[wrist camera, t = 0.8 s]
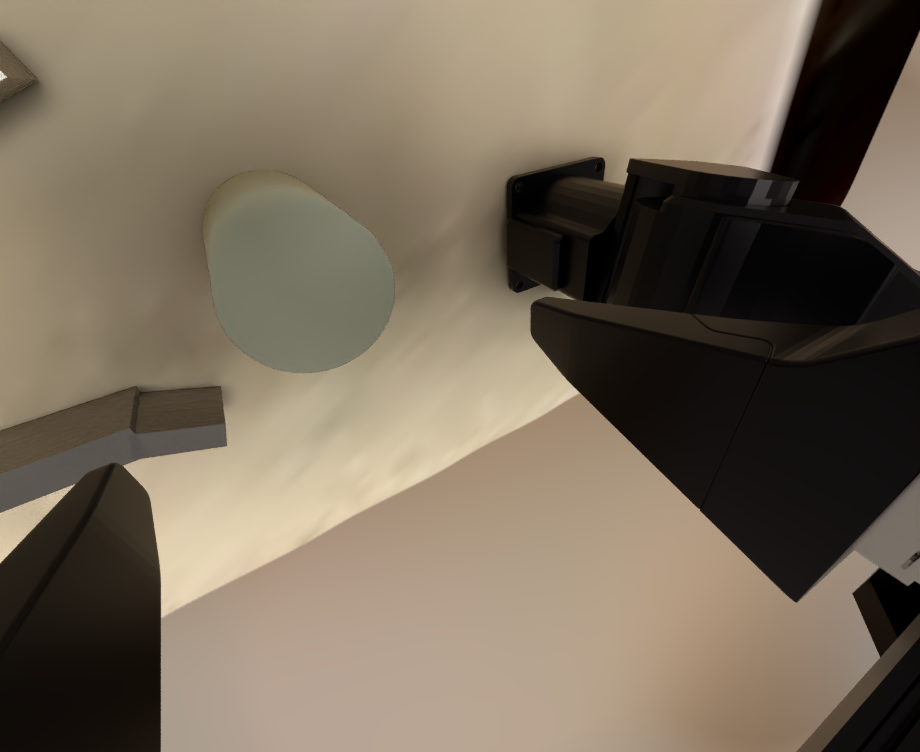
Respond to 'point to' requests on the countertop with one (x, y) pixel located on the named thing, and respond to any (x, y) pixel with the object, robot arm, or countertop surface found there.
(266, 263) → the grey rounded piece
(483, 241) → the countertop surface
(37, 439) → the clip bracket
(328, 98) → the countertop surface
